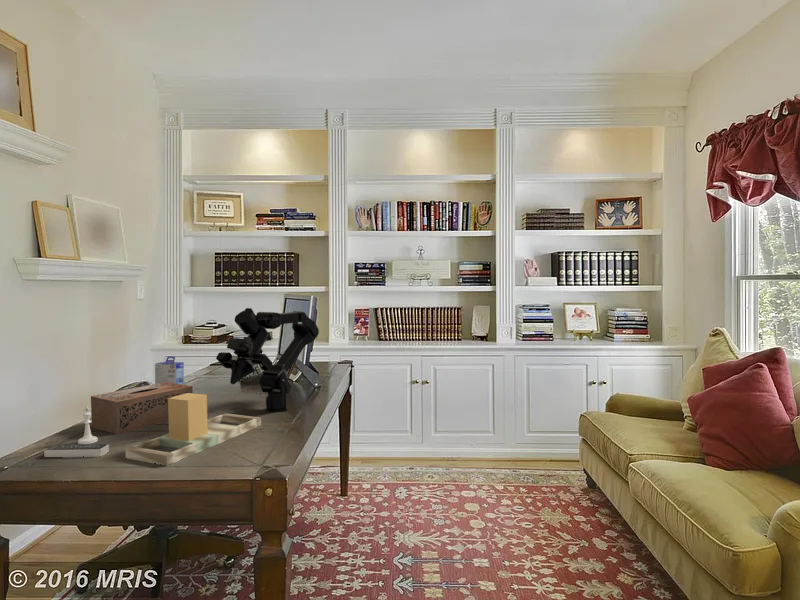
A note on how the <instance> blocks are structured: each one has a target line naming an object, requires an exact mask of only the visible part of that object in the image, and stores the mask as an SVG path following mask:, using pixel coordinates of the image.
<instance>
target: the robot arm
mask: <svg viewBox="0 0 800 600" xmlns="http://www.w3.org/2000/svg"><path fill="white" fill-rule="evenodd" d="M234 323H235V324H236V326H237V327H239V329H240V330H241V331H242V333H243V334H245V335H247V336H244V337H243V338H240V337H239V338H238V337H229V338H228V342H227V346H226V348H227V349H228V350H229V349H230V350H232V351H233V354H234V355H232V354H231V352H230V351H229V352H226V351H222V352H219V353H218V354H217V355H216V357H215V359H216V360H217V361H218V362H219V363H220V364H221V366H223V368H225V369H227V370H228V369H231V376H230V382H229V383H230V384H231V385H235V384H237V383H238V382H240V381H241V380H242V379H244V378H245V377H247V376H249V375H250V374H252V373H255V372H256V367H257V366H258V365H261V369H262V371H261V375H260V377H259V385H260V387H261V391H262V393H266V395H265V397H264V404H265V405H264V408H265V410H266V411H267V412H268V413H276V412H284V411H285V412H286V411H289V410H288V408H287V394H289V393H290V392H291V389H292V385H291V383H290V382H289V381H288V379H289V377H288V372H289V371H290V369H291V368H292V366H293V365H294V363H296V361H297V359H298V357H299V355H300V354H301V353H302V351H303V349H305V347H306V346H307V345H310V344H311V343H313V342H314V341H315V340H316V339H317V337H318V335H319V333H320V329H319V327H318V326H317V324H316V323H315V321H314V320H313V319H311V318H310V317H309V316H308V315H307V314H306V312H305V311H302V310H301V311H299V310H298V311H296V310H293V311H289V312H288V311H287V312H280V313H279V312H275V311H272V312H271V311H258V312H257V313H255V312H254V311H253V309H252V308H251V307H250V308H249V307H245V309H244V310H242V311H240V312H238V313H237V314H236V315H235V316H234ZM288 324H291V325H292V326H291V328H292V330H293V339H292V341H290V343H289V345H288V346H287V348H285V350H284V352H283V353H282V354H281V356H280V358H279V359H278V360H277V361H276V363H275V364H273V362H272V360H271V359H270V358H269V356H268V355H267V354H266V353H264V352H263V349H262V348H263V347H264V344H265V342H266V341H270V342H271V341H272V335H271V332H270V331H269V332H268V331H267V330H276V329H277V328H280V327H281V326H282V325H288Z"/></svg>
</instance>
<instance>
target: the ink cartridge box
mask: <svg viewBox="0 0 800 600" xmlns="http://www.w3.org/2000/svg"><path fill="white" fill-rule="evenodd" d="M166 357H167V358H166V359H165V361H161V362H156V363H154V384H157V383H162V382H171V383H177V384H183V385H185V380H184V379H185V375H184V374H185V372H184V371H185V370H184V362H182V361H181V362H179V361H177V362H176V361H175V360H176V356H166Z"/></svg>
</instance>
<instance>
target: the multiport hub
mask: <svg viewBox="0 0 800 600" xmlns="http://www.w3.org/2000/svg"><path fill="white" fill-rule="evenodd" d="M109 448H110V446H109V444H107V443H106V444H105V443H104V444H99V443H98V444H97V443H96V444H55V445H54V444H53V445H52V446H50V447H48V448H46V449H44V450H43V451H44V453H43V454H44V455H43V456H44V458H45V457H63V458H99V456H101V457H102V455H103V456H104V455H105V454H108V453H109V452H110V449H109ZM107 452H108V453H107ZM83 456H84V457H83Z"/></svg>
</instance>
